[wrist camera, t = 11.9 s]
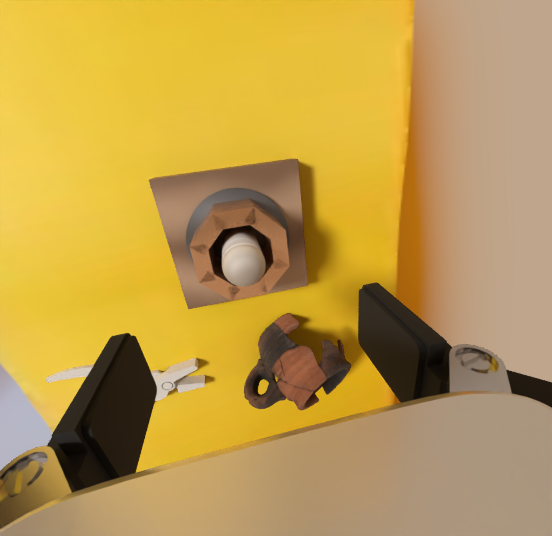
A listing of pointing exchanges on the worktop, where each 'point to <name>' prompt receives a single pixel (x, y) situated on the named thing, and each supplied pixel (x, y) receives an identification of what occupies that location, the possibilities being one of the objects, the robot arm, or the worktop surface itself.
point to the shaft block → (239, 240)
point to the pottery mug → (293, 368)
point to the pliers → (162, 379)
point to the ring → (211, 265)
